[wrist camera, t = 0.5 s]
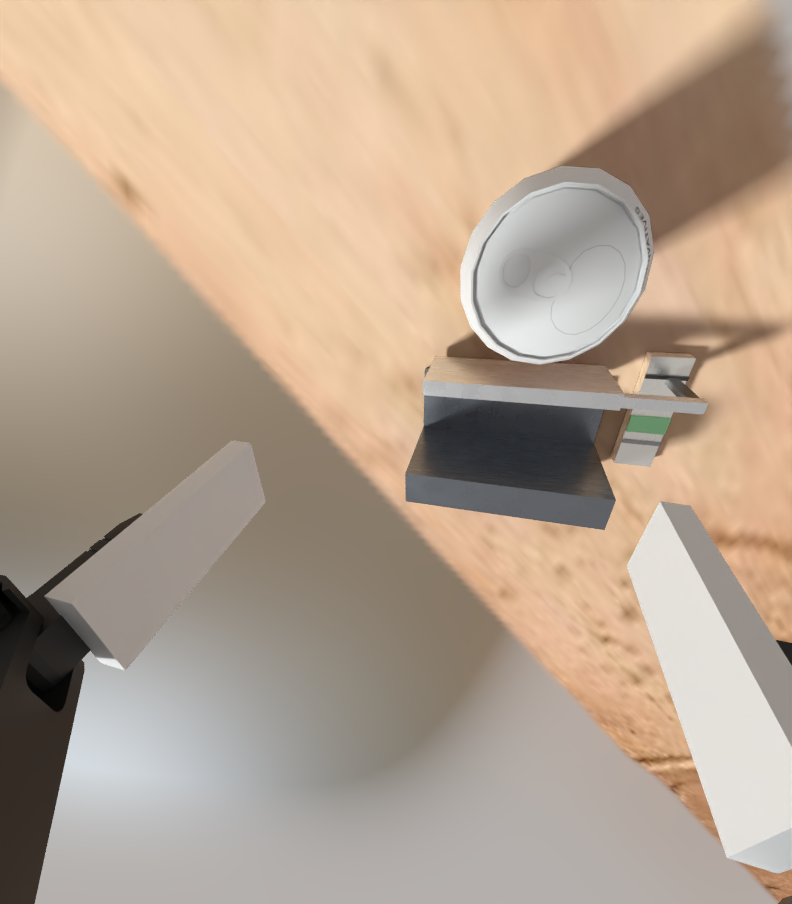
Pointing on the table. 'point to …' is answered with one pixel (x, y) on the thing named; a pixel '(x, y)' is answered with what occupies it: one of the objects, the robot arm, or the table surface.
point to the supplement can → (556, 264)
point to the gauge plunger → (549, 385)
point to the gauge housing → (534, 452)
